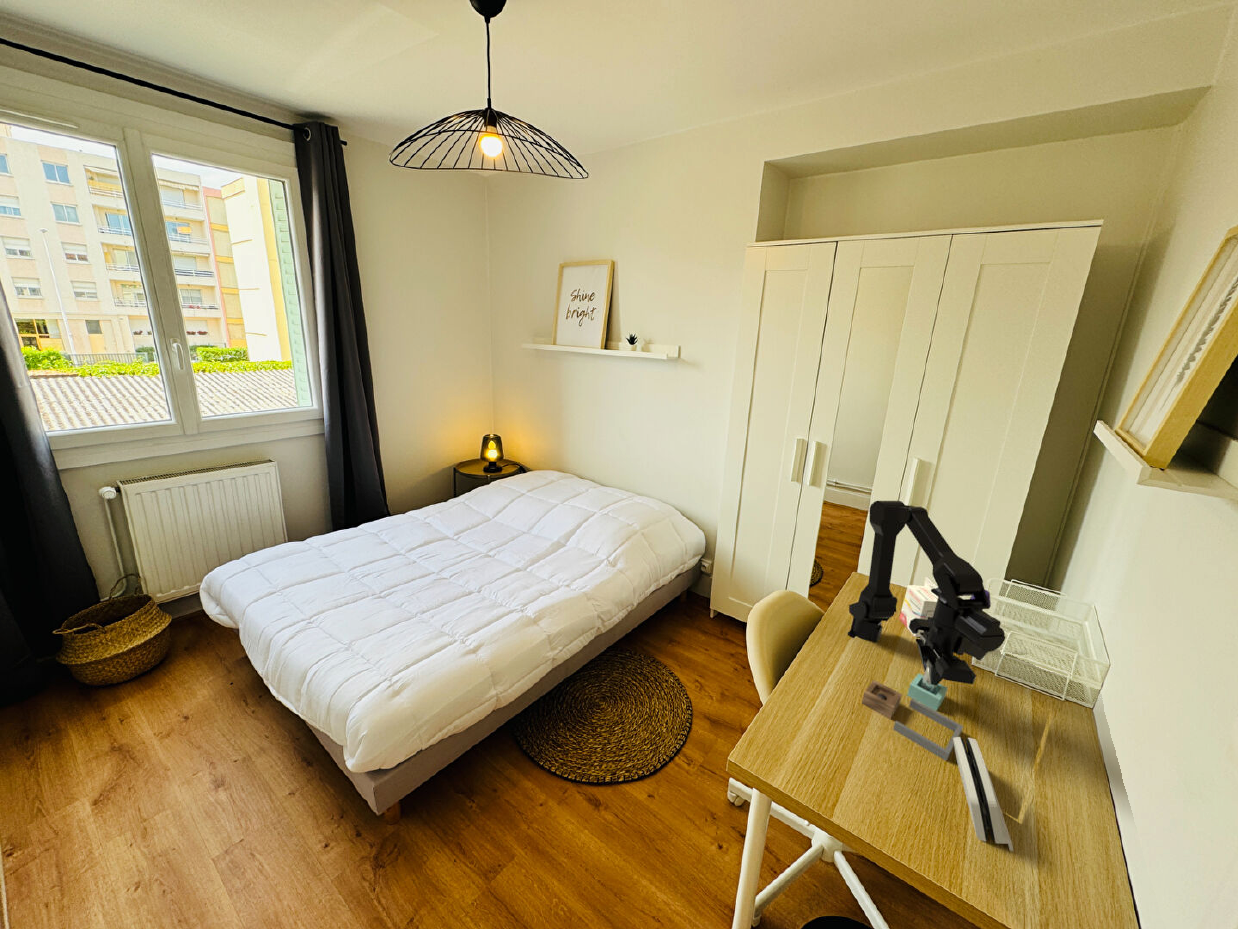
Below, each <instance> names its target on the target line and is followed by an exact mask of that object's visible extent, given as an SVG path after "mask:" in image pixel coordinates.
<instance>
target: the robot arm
mask: <svg viewBox="0 0 1238 929" xmlns="http://www.w3.org/2000/svg"><path fill="white" fill-rule="evenodd" d="M869 523H870V526H871V527H872V529H873V532H874V537H873V543H872V544H873V545H872V546H873V547H872V553H871V560H870V561H871V562H870V567H869V574H868V575H869V576H868V577H869V578H868V584H866V586H865V587H864V588H863V589H862V591H861V592H860V595H859V598H858V601H857V602H854V603H851V604H849V605H848V612H849V614H850V615H851V616H852V620H851V626H850V630H849V631H848V632H847V636H849V637H851V638H854V639H855V637H857V638H859V639H860V640H864V641H869V642H873V643H878V641H879V640H881V636H882V635H881V634H882V632H883V625H882V623H883V622H888V621H889V619H891V618H892V617H894V615H895V613H897V602H898V598H897V596H894V594H893V592H892V591H891V588H890V586H891V579H892V573H893V564H894V558H895V550H896V543H897V537H898V535H899V534H900V533H901V532H902V530H903V529H904V528H905V526H907V528H908V529H909V531H910V532H911V534H912V535H913V537H914V538H915V540H916V541H917V543H918V544H919V546H920V548H921V549H922V550H923V553H924V554H925V555H926V556H927V558H928V559H929V561H930V562H931V564H932V572H931V573H932V577H933V578H934V580H935V583H936V586H937V587H938V588H934V587H933V588H932V589H931V592H932V593H934V594H935V595H936V596H938V600H937V603H936V607H935V610H934V614H933V617H928V619H927V620H926V619H919V618H915V619H913V620H911V621H910V624H909V628H910V630H911V631H912V633H913V634H917V633H918V630H923V631H924V633H923V632H920V635H921V636H920V637H919V638H915V642H916V644H917V648H918V653H919V656H920V659H921V664H922V666H923V672H924V673H925V670H926V667H927V666H926V663H927V660H928V666H929V674H930V681H931V684H932V685H937V684H938V683H939V684H940V683H941V682H942V681H943V680H944V681H950V682H955V683H956V682H957V683H962V684H966V685H974V683H975V681H976V678H977V675H976V673H975V671H973V669H972V667H971V666H970V665H969V664H968V662H966V660H965V659H964V660H963V659H960V657H959V656H964V654H966V655H968V656H971V657H973V658H975V660H977V661H981V660H982V659H983V658H984V657H985V656H986V655H987V654H988V653H990V652H994V651H996V650H997V649H998V648H1000V647H1001V646H1002V645H1003V643H1004V642H1005V640H1006V636H1005V631H1004V629H1003V628H1002V627H1001V621H1000V620H999V619H997V618H996V617H993V616H992V615H990V614H988V613H987V612H986V611H984V610H989V609H990V608H991V606H990V607H989V603H988V598H987V596H986V593H985V590H986V589H985V587H984V580H983V578H982V576H981V574H980V573H979V571H977V569H975V568H974V566H972V565H971V563H969V562H968V561H967V560H965V559H963V558H961V557H960V556H958V555H957V554H956V553H955V552H954V550H953V549H952V548H951V546H950V545H949V544H948V542H947V540H946V539H945V537H944V536H943V535H942V534H941V532H940V531H939V529H938V528H937V527H936V525H935V524H934V522H933V521H932V519H931V518H930V516H929V512H928V511H927V509H926V508H924V507H922V506H915V505H908V504H905V503H904V502H903V501H901V500H876V501H874V502H873V503H871V504H870V507H869ZM969 596H970V597H971V596H974V598H975V599H970V598H968V599H967V598H965V599H964V598H962V597H969ZM912 633H911V634H912ZM913 634H912V635H913ZM955 654H956V655H955ZM957 655H958V656H957Z"/></svg>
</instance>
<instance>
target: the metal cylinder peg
mask: <svg viewBox="0 0 1238 929" xmlns="http://www.w3.org/2000/svg"><path fill="white" fill-rule="evenodd" d="M926 666H927V667H926V670H925V672H924V675H923V676H924V677H923V681H922V684H921V688H923V689H925V690H927V691H929V692H930V693H932V694H935V691H936V687H937V685H932V684H931V681H930V674H929V666H928V660H927V663H926Z"/></svg>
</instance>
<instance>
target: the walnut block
mask: <svg viewBox="0 0 1238 929" xmlns="http://www.w3.org/2000/svg"><path fill="white" fill-rule="evenodd" d="M871 681H872V682H870V684H869V686H868V687H867V688H866V689H865V690H864V692H863V696H862V701H861V705H864V706H865V707H866V708H869V709H871V710H872V711H874V712H876V713H877V714H880V715H881V716H883V717H885V718H887V719H888V720H892V718H893V716H894V714H895V712H896V711H897V710H898V708H899V706H900V704H901V699H902V697H903V694H902V693H900V692H898V691H896V690H895V689H892V687H891V688H890V687H889V686H887V685H885V684H883V683H881V682H879V681H877V680H876V679H873V680H871Z"/></svg>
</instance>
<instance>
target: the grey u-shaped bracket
mask: <svg viewBox="0 0 1238 929" xmlns="http://www.w3.org/2000/svg"><path fill="white" fill-rule="evenodd" d="M908 707H909V708H911V709H912V710H913V711H916V712H918V713H920V714H921V715H923V716H925V717H926V718H929V719H930V720H932V721H933V722H936V723H937V724H940V725H941V726H943V727H945V728H947V729H949V730H950V731H952V732H953V734H952V736H951V738H950V739H949V742H948V743H947V745H946V747H945V748H944V747H942V746H941V745H939V744H938V743H936V742H934V741H933V740H930V739H928V738H927V737H926V736H923V735H922V734H920V733H918V732H917V731H915V730H913V729H912V728H910V727H908V726H906V725H905V724H903V723H902V722H900V721H898V720H895V722H894V725H893V727H892V728H893V729H892V730H894V731H895V732H897V733H898V734H900V735H902V736H903V737H905V738H906V739H909V740H910V741H912V742H913V743H915V744H917V745H919V746H920V747H922V748H923V749H925V750H927V751H928V752H931V754H934V755H935V756H936V757H938V758H940V759H942V760H944V761H945V762H947V761H948V759H949V757H950V755H951V754H952V751H953V750H954V748H955V747H954V741H953V738H955V737H961V734H962V731H963V728H964V725H963V724H960V723H959V722H957V721H955V720H953V719H951V718H949V717H948V716H945V715H943V714H942V713H940V712H938V711H935V710H933V709H931V708H929V707H928V706H926V705H924V704H922V703H920V702H918V701H916V700H915V699H913V698H911V699H910V702H909V705H908Z"/></svg>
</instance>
